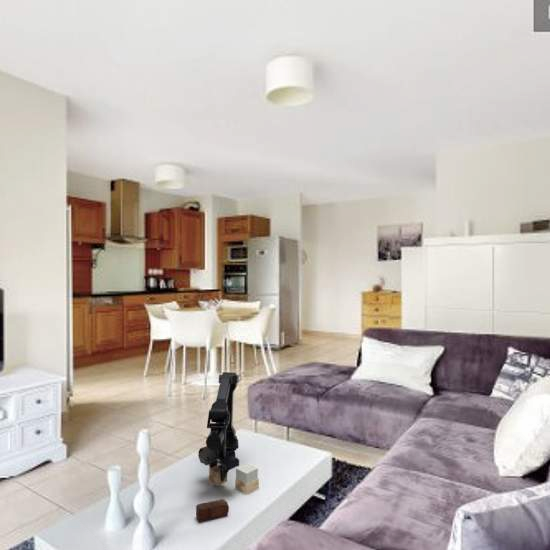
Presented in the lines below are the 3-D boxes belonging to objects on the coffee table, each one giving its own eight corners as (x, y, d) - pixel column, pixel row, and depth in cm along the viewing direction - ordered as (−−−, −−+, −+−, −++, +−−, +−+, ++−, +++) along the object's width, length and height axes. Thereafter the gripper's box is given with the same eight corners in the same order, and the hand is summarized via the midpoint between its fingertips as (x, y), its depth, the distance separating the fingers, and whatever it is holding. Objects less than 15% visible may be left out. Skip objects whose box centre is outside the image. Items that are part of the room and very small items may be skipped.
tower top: (235, 478, 162) (236, 468, 162) (247, 473, 167) (247, 463, 167) (246, 484, 158) (246, 473, 158) (257, 478, 163) (257, 468, 163)
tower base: (235, 488, 162) (235, 478, 162) (247, 482, 167) (247, 473, 167) (246, 495, 158) (246, 484, 158) (258, 488, 163) (258, 478, 163)
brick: (198, 524, 139) (199, 510, 139) (195, 517, 143) (196, 504, 143) (228, 516, 144) (229, 503, 144) (225, 510, 147) (225, 497, 147)
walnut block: (209, 481, 163) (209, 468, 163) (218, 477, 167) (219, 464, 167) (217, 485, 160) (217, 473, 160) (227, 481, 163) (227, 468, 163)
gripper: (187, 438, 164) (187, 477, 164) (217, 452, 151) (217, 495, 151) (209, 430, 172) (209, 468, 172) (240, 443, 159) (239, 484, 159)
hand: (218, 478), depth 163 cm, fingers closed on walnut block, 5 cm apart
